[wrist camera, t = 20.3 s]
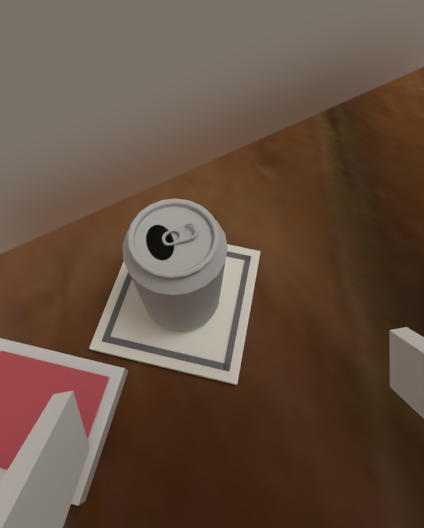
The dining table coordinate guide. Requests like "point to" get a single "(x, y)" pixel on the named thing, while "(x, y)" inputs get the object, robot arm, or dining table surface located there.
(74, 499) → the ink pad
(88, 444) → the robot arm
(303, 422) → the dining table surface
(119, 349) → the marked board
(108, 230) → the dining table surface
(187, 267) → the can
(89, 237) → the dining table surface
